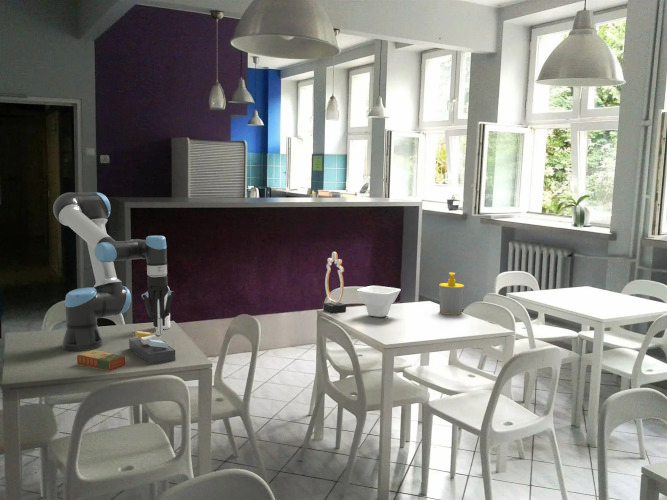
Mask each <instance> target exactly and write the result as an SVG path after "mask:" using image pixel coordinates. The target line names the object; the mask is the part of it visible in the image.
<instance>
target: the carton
mask: <svg viewBox="0 0 667 500" xmlns="http://www.w3.org/2000/svg"><path fill="white" fill-rule="evenodd" d="M76 361H77V362H76V365H78V366H80V365H81V367H86V368H92V369H96V370H101V371H104V372H111V371H115V370H117V369H119V368H120V369H121V368H123V367H125V366H126V356H125V355H121V354H117V353H111V352H108V351H107V352H106V351H102V350H96V349H91V350H87V351H86V352H83V353H79V354H77V356H76Z"/></svg>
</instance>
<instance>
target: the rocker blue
mask: <svg viewBox="0 0 667 500" xmlns="http://www.w3.org/2000/svg"><path fill="white" fill-rule="evenodd" d="M147 344H148V345H150V346H155V347H163V348H168V346H170V344H169V342H167V341H166V340H162V341H160V340H152V339H148V340H147Z"/></svg>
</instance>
